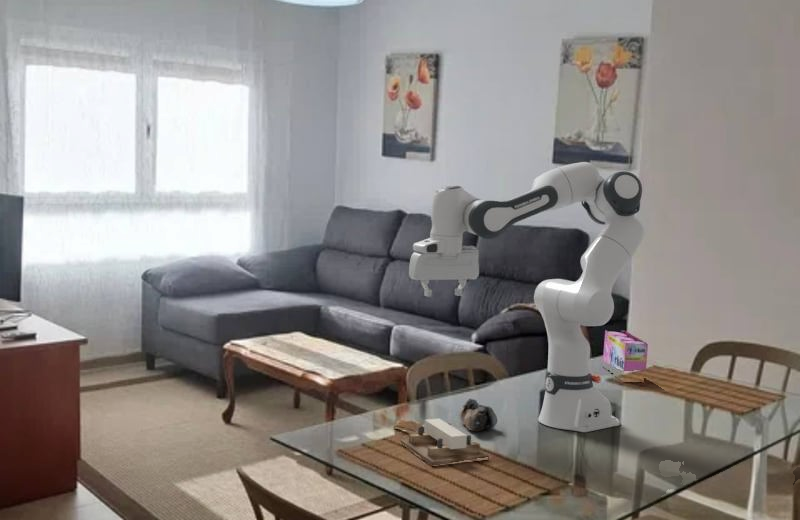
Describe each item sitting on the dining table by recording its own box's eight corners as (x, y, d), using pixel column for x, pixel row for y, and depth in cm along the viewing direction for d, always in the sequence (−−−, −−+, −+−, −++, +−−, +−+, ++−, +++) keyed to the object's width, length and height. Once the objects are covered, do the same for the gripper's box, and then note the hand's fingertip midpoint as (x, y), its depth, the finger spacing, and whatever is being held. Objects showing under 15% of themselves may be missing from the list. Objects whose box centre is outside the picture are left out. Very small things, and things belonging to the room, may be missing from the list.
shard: (422, 440, 220) (422, 433, 220) (392, 438, 220) (392, 431, 220) (422, 427, 231) (422, 421, 231) (393, 426, 231) (394, 419, 231)
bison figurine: (467, 420, 239) (442, 425, 232) (469, 395, 238) (444, 399, 231) (501, 432, 230) (476, 437, 223) (504, 405, 230) (479, 410, 223)
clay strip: (438, 430, 217) (439, 418, 217) (466, 447, 204) (466, 435, 204) (424, 431, 215) (424, 419, 215) (451, 449, 203) (451, 436, 202)
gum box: (600, 366, 313) (603, 329, 312) (621, 367, 314) (624, 329, 312) (622, 383, 289) (625, 342, 288) (645, 383, 290) (648, 343, 289)
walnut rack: (453, 438, 221) (454, 418, 221) (488, 460, 206) (489, 438, 205) (400, 444, 215) (401, 423, 214) (431, 467, 199) (432, 444, 199)
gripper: (473, 244, 245) (470, 293, 247) (407, 244, 237) (405, 294, 238) (484, 246, 240) (481, 296, 241) (417, 246, 231) (415, 298, 233)
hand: (443, 295), depth 240 cm, fingers open, 8 cm apart
